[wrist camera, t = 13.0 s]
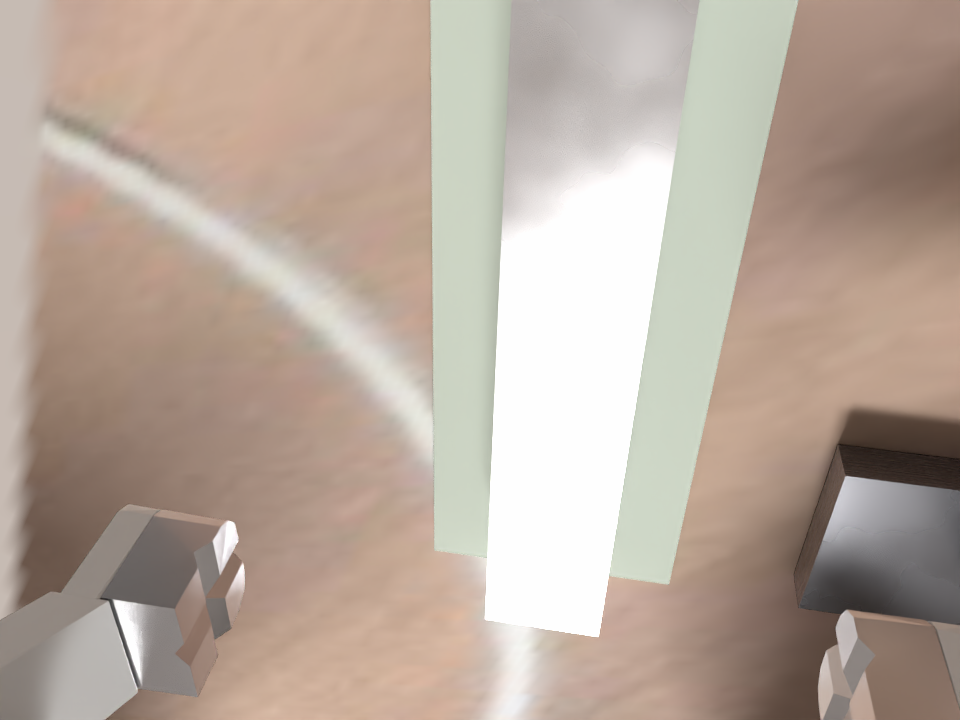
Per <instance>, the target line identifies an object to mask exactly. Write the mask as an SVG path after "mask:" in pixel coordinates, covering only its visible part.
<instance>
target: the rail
mask: <svg viewBox="0 0 960 720" xmlns="http://www.w3.org/2000/svg"><path fill="white" fill-rule="evenodd" d="M699 2H700V0H512V1H511V24H510V48H509V72H508V95H507V119H506V143H505V166H504V190H503V213H502V237H501V261H500V284H499V308H498V332H497V355H496V379H495V403H494V426H493V450H492V473H491V497H490V521H489V544H488V568H487V592H486V615H485V619H487V620H493V621H500V622H506V623H513V624H519V625H526V626H532V627H538V628H545V629H551V630H558V631H564V632H571V633H577V634H584V635H590V636H597V637H598V636H599V630H600V623H601V617H602V611H603V605H604V598H605V592H606V586H607V580H608V573H609V567H610V561H611V554H612V548H613V542H614V536H615V529H616V523H617V517H618V510H619V504H620V498H621V492H622V485H623V479H624V473H625V466H626V460H627V454H628V448H629V441H630V435H631V429H632V423H633V416H634V410H635V404H636V397H637V391H638V385H639V379H640V372H641V366H642V360H643V353H644V347H645V341H646V335H647V328H648V322H649V316H650V309H651V303H652V297H653V291H654V284H655V278H656V272H657V266H658V259H659V253H660V247H661V240H662V234H663V228H664V222H665V215H666V209H667V203H668V196H669V190H670V184H671V178H672V171H673V165H674V159H675V152H676V146H677V140H678V134H679V127H680V121H681V115H682V108H683V102H684V96H685V90H686V83H687V77H688V71H689V65H690V58H691V52H692V46H693V39H694V33H695V27H696V21H697V14H698V8H699Z"/></svg>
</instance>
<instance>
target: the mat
mask: <svg viewBox="0 0 960 720" xmlns="http://www.w3.org/2000/svg"><path fill="white" fill-rule="evenodd" d="M511 1H512V0H431V137H432V279H433V420H434V550H436V551H443V552H449V553H456V554H463V555H470V556H477V557H484V558H488V544H489V521H490V497H491V473H492V450H493V426H494V403H495V379H496V355H497V332H498V308H499V284H500V261H501V237H502V213H503V190H504V166H505V143H506V119H507V95H508V72H509V48H510V24H511ZM797 4H798V0H700V2H699V8H698V14H697V21H696V27H695V33H694V39H693V46H692V52H691V58H690V65H689V71H688V77H687V83H686V90H685V96H684V102H683V108H682V115H681V121H680V127H679V134H678V140H677V146H676V152H675V159H674V165H673V171H672V178H671V184H670V190H669V196H668V203H667V209H666V215H665V222H664V228H663V234H662V240H661V247H660V253H659V259H658V266H657V272H656V278H655V284H654V291H653V297H652V303H651V309H650V316H649V322H648V328H647V335H646V341H645V347H644V353H643V360H642V366H641V372H640V379H639V385H638V391H637V397H636V404H635V410H634V416H633V423H632V429H631V435H630V441H629V448H628V454H627V460H626V466H625V473H624V479H623V485H622V492H621V498H620V504H619V510H618V517H617V523H616V529H615V536H614V542H613V548H612V554H611V561H610V567H609V573H608V576H613V577H620V578H627V579H634V580H640V581H647V582H654V583H661V584H668V585H669V582H670V578H671V573H672V569H673V564H674V560H675V555H676V551H677V546H678V541H679V537H680V532H681V528H682V523H683V519H684V514H685V510H686V505H687V501H688V496H689V492H690V487H691V483H692V478H693V474H694V469H695V465H696V460H697V456H698V451H699V447H700V442H701V438H702V433H703V429H704V424H705V420H706V415H707V411H708V406H709V402H710V397H711V393H712V388H713V383H714V379H715V374H716V370H717V365H718V361H719V356H720V352H721V347H722V343H723V338H724V334H725V329H726V325H727V320H728V316H729V311H730V307H731V302H732V298H733V293H734V289H735V284H736V280H737V275H738V271H739V266H740V262H741V257H742V253H743V248H744V244H745V239H746V235H747V230H748V225H749V221H750V216H751V212H752V207H753V203H754V198H755V194H756V189H757V185H758V180H759V176H760V171H761V167H762V162H763V158H764V153H765V149H766V144H767V140H768V135H769V131H770V126H771V122H772V117H773V113H774V108H775V104H776V99H777V95H778V90H779V86H780V81H781V76H782V72H783V67H784V63H785V58H786V54H787V49H788V45H789V40H790V36H791V31H792V27H793V22H794V18H795V13H796V9H797Z"/></svg>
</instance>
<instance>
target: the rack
mask: <svg viewBox="0 0 960 720" xmlns="http://www.w3.org/2000/svg"><path fill="white" fill-rule="evenodd" d="M794 581H795V588H796V595H797V601H798V608H802V609H809V610H816V611H823V612H829V613H836V614H842V613H843V612H844V611H846V610H854V611H861V612H869V613H876V614H884V615H891V616H899V617H906V618H914V619H921V620H925V621H927V622H928V621H932V622H939V623H946V624H953V625H960V460H959V459H951V458H943V457H935V456H927V455H919V454H911V453H903V452H895V451H887V450H879V449H871V448H863V447H855V446H847V445H839V444H838V446H837V449H836V452H835V455H834V458H833V461H832V464H831V467H830V470H829V473H828V475H827V478H826V481H825V484H824V487H823V490H822V493H821V496H820V499H819V502H818V505H817V508H816V511H815V514H814V517H813V520H812V523H811V525H810V528H809V531H808V534H807V537H806V540H805V543H804V546H803V549H802V552H801V555H800V558H799V561H798V564H797V567H796V570H795V573H794Z"/></svg>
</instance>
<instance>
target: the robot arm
mask: <svg viewBox="0 0 960 720" xmlns="http://www.w3.org/2000/svg"><path fill="white" fill-rule="evenodd" d="M238 540H239V539H238V535H237V531H236V527H235V523H234V522H231V521H227V520H222V519H216V518H210V517H204V516H198V515H193V514H187V513H181V512H175V511H169V510H164V509H155V508H149V507H143V506H137V505H131V504H128V505H127V506H125V507H124V508H122V509H121V510H119V511H118V512H117V513H116V515H115V516H114V518H113V519H112V520H111V522H110V523H109V525H108V526H107V528H106V529H105V530H104V532H103V533H102V535H101V536H100V538H99V539H98V540H97V542H96V543H95V545H94V546H93V548H92V549H91V550H90V552H89V553H88V555H87V556H86V557H85V559H84V560H83V562H82V563H81V565H80V566H79V567H78V569H77V570H76V572H75V573H74V575H73V576H72V577H71V579H70V580H69V582H68V583H67V584H66V586H65V587H64V589H63V590H62V592H61V593H59V592H49V593H47V594H45V595H43V596H42V597H40V598H38V599H36V600H35V601H33V602H31V603H29V604H28V605H26V606H24V607H22V608H21V609H19V610H17V611H15V612H14V613H12V614H10V615H8V616H7V617H5V618H3V619H1V620H0V720H105V719H106V718H107V717H109V716H110V715H111V714H112V713H114V712H115V711H116V710H117V709H118V708H120V707H121V706H122V705H123V704H124V703H126V702H127V701H128V700H129V699H131V698H132V697H133V696H134V695H135V694H137V693H138V689H144V690H151V691H158V692H165V693H172V694H179V695H186V696H194V697H198V696H199V694H200V692H201V690H202V688H203V686H204V684H205V681H206V679H207V677H208V675H209V673H210V671H211V669H212V667H213V665H214V663H215V661H216V659H217V657H218V653H217V648H216V644H215V639H216V638H218V637H219V636H221V635H222V634H224V633H225V632H227V631H228V630H230V629H231V628H232V626H233V623H234V621H235V619H236V617H237V615H238V612H239V610H240V606H241V602H242V598H243V594H244V587H245V572H244V566H243V562H242V561H241V560H240V559H239V558H238V557H237V556H236V555H235V554H234V553H233V550H234V548H235V546H236V544H237V542H238ZM835 629H836V635H837V640H838V644H837V645H835V646H833V647H831V648H830V649H828V650H826V653H825V656H824V659H823V662H822V665H821V668H820V676H819V684H818V702H819V711H820V718H821V720H960V625H953V624H946V623H939V622H932V621H928V622H927V621H925V620H921V619H914V618H906V617H899V616H891V615H884V614H876V613H869V612H861V611H854V610H846V611H844V612H843V613H842V614H841V616H840V618H839V620H838V623H837V625H836V628H835Z"/></svg>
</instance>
